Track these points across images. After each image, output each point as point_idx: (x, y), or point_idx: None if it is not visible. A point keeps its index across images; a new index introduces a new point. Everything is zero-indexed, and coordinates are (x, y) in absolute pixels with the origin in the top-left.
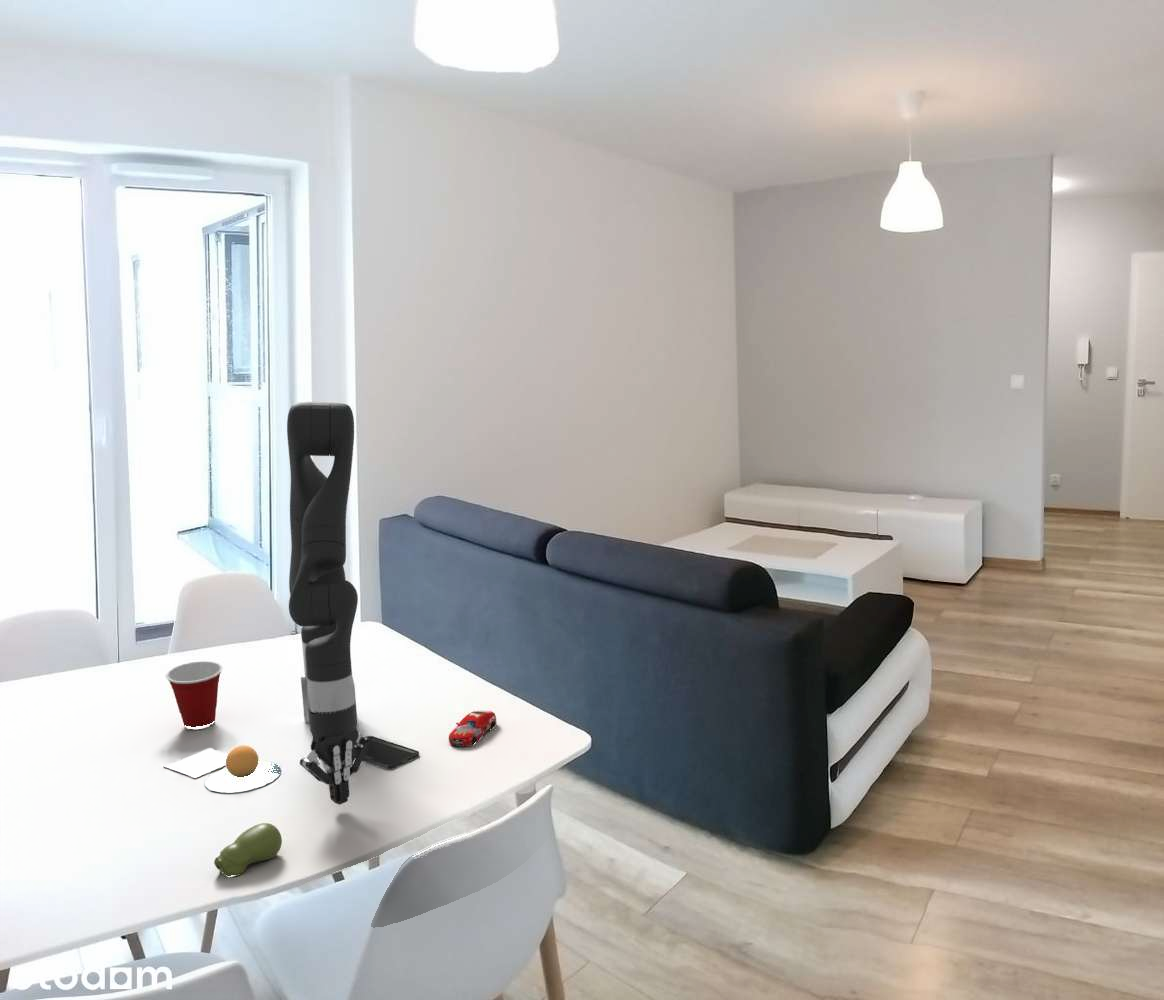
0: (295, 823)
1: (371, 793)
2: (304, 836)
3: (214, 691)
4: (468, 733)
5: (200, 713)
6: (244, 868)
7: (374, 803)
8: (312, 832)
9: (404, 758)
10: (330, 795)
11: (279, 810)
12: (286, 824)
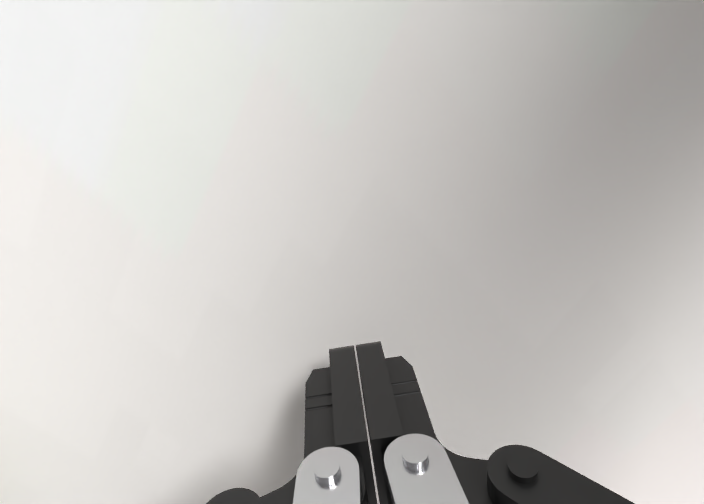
0: (105, 307)
1: (569, 280)
2: (104, 439)
3: None
4: None
5: None
6: None
7: (503, 377)
8: (149, 431)
9: None
10: (306, 398)
11: (64, 79)
12: (57, 285)
